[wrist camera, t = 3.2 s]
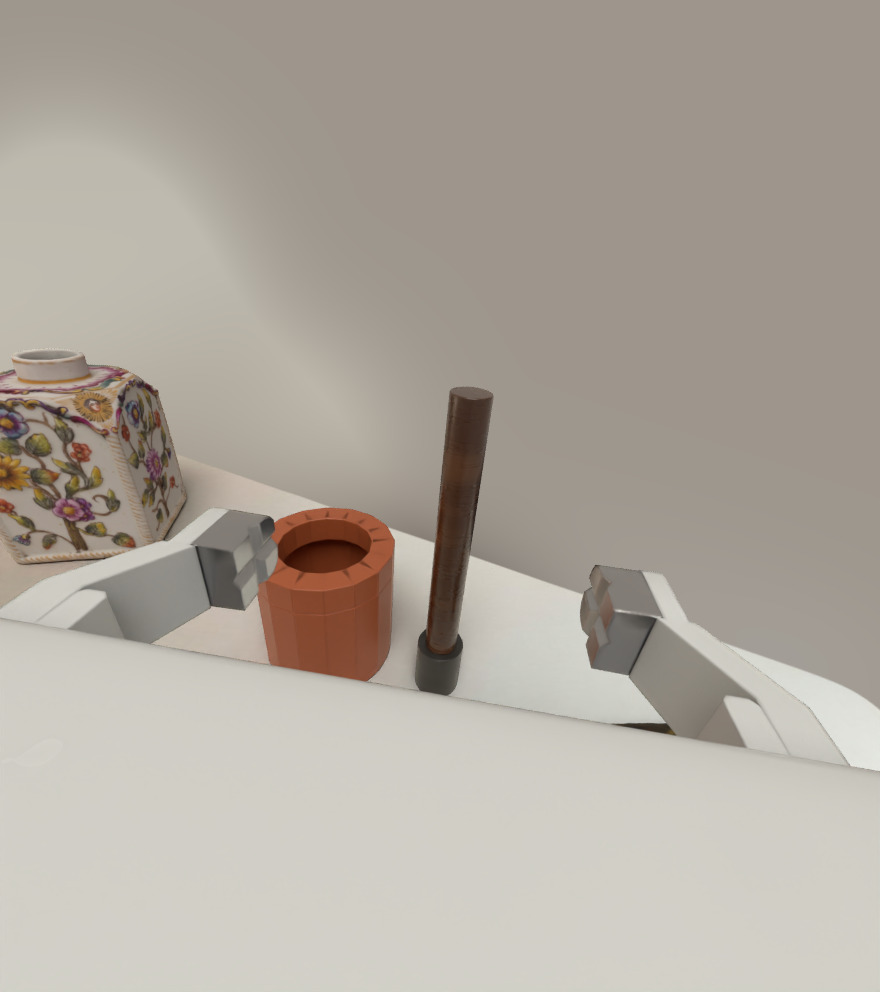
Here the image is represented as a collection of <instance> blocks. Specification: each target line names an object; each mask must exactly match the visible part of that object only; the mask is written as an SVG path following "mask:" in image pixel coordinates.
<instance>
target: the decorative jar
mask: <svg viewBox="0 0 880 992" xmlns="http://www.w3.org/2000/svg"><path fill="white" fill-rule="evenodd" d="M12 361H13V365H14V369H15V370H9V371H3V372H0V539H1V540H2V541H3V543H4V545H5V547H6V548H7V550H8V552H9V553H10V555H11V556H12V557H13V559H14V560H15V561H16V562H17V563H20V564H30V563H41V562H56V561H65V560H78V559H81V560H82V559H97V558H110V557H113V556H116V555H119V554H122V553H125V552H128V551H131V550H135V549H138V548H141V547H144V546H147V545H150V544H153V543H156V542H159V541H162V540H163V539H164V537H165V535H166V533H167V532H168V530H169V528H170V527H171V525H172V523H173V521H174V520H175V518H176V517H177V515H178V513H179V511H180V509H181V508H182V505H183V504H184V502H185V500H186V494H185V490H184V487H183V482H182V478H181V473H180V469H179V465H178V461H177V457H176V454H175V450H174V446H173V443H172V439H171V436H170V433H169V428H168V425H167V421H166V418H165V414H164V412H163V408H162V405H161V402H160V398H159V396H158V395H159V393H158V390H156V389H154V388H153V387H152V386H151V385H149V384H147V383H146V382H145V381H143V380H142V379H141V378H139V377H138V376H137V375H135V374H133V373H131V372H129V371H127V370H125V369H122V368H119V367H115V366H108V365H87V363H86V360H85V356H84V354H83V353H81V352H78V351H74V350H67V349H38V350H25V351H20V352H17V353H15V354H13V355H12Z"/></svg>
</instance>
